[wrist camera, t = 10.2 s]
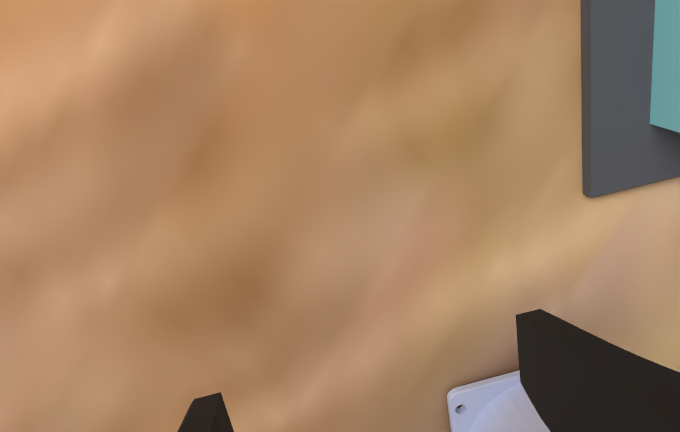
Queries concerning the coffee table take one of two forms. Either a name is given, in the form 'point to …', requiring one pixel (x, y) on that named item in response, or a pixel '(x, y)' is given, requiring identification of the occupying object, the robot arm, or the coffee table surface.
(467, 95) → the coffee table surface
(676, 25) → the collar
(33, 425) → the coffee table surface
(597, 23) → the mat
